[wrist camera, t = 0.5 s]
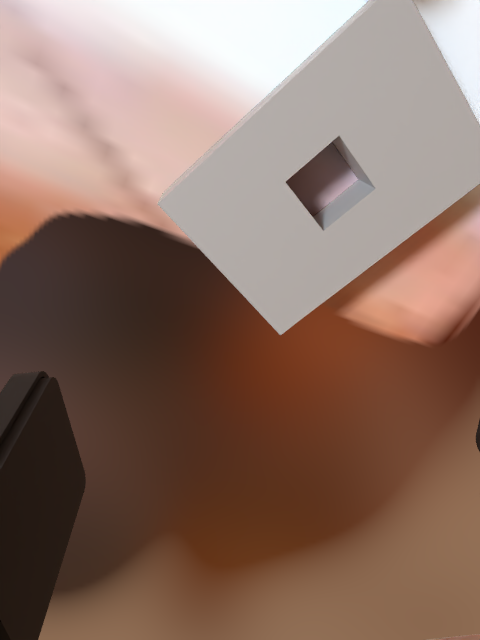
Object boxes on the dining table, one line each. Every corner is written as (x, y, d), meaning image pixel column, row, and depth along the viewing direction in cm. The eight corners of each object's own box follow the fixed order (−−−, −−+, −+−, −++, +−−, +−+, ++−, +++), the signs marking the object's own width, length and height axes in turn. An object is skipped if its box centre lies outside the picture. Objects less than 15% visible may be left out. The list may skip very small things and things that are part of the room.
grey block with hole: (377, -8, 30) (400, -22, 26) (471, 159, 35) (502, 166, 32) (162, 193, 35) (157, 204, 31) (273, 313, 40) (280, 335, 36)
